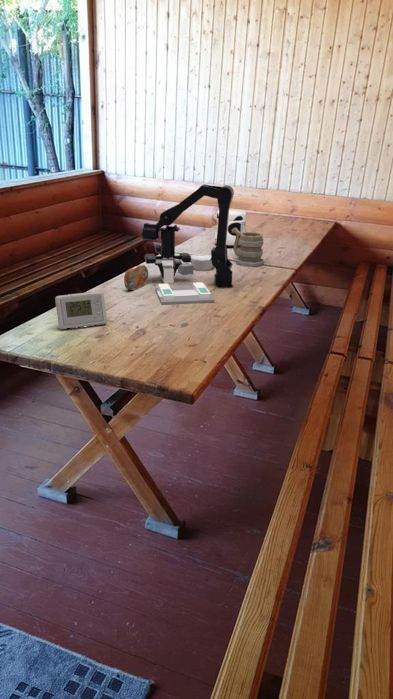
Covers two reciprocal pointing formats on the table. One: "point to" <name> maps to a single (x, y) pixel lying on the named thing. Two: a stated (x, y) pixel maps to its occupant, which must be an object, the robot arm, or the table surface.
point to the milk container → (233, 225)
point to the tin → (136, 277)
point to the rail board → (183, 294)
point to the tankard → (248, 248)
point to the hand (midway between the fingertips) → (167, 278)
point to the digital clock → (81, 310)
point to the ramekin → (201, 262)
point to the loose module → (168, 274)
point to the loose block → (185, 269)
